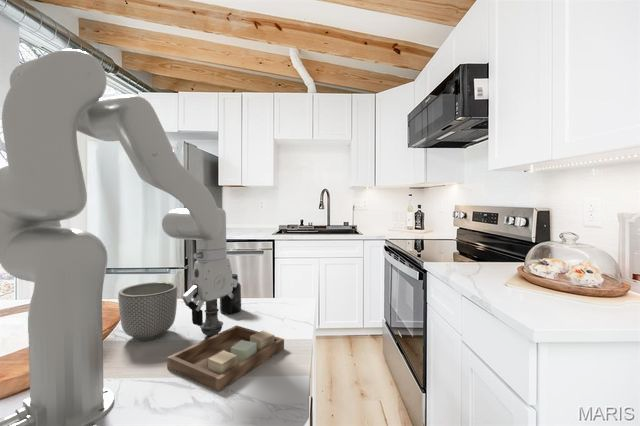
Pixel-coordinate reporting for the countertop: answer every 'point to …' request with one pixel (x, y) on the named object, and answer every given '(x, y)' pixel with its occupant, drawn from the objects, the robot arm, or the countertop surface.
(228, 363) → the cube
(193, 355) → the tray
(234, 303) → the supplement bottle
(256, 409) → the countertop surface
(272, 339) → the cube
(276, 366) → the countertop surface
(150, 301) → the planter
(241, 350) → the cube
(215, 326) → the salt shaker
